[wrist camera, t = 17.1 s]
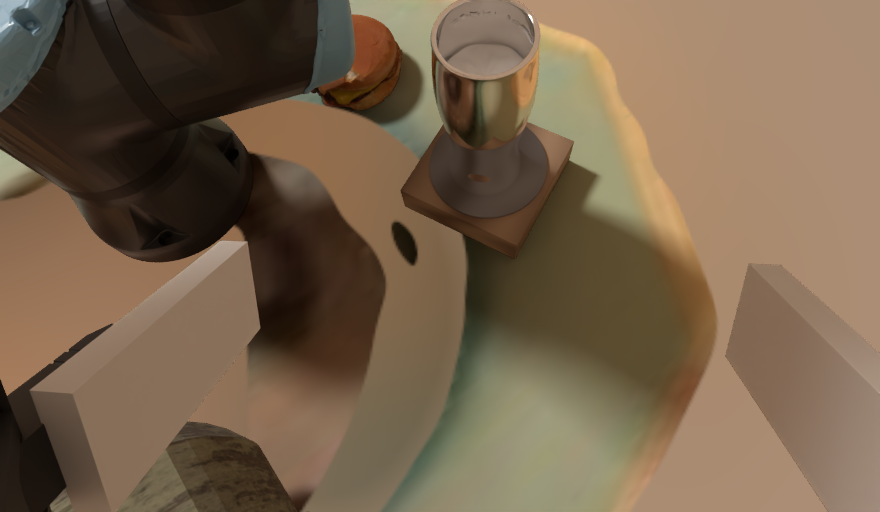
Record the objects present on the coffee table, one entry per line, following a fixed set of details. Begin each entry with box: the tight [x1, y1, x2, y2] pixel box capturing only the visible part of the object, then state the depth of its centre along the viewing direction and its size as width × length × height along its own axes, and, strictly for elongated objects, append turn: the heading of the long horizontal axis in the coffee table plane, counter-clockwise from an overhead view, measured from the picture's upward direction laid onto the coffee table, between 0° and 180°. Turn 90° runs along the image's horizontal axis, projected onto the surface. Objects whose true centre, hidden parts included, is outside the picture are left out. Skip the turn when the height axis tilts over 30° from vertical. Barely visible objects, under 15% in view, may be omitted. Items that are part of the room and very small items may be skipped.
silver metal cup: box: [431, 0, 540, 196], centre depth 39 cm, size 7×7×15 cm
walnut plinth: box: [401, 122, 574, 259], centre depth 48 cm, size 11×11×3 cm
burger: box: [311, 15, 402, 110], centre depth 53 cm, size 10×9×5 cm
